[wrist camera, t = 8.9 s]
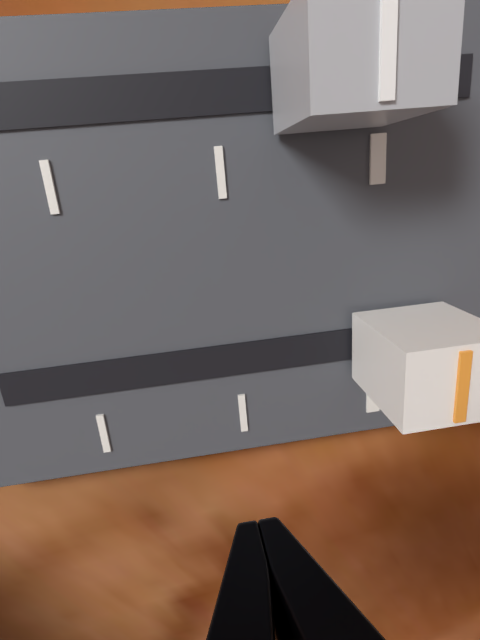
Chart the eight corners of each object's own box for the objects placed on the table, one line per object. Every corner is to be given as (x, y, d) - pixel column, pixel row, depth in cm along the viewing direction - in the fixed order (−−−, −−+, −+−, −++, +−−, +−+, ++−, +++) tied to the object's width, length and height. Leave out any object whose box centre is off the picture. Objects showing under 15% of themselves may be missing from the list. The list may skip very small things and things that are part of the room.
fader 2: (437, 365, 19) (514, 419, 14) (352, 377, 18) (404, 436, 14) (442, 301, 18) (525, 338, 13) (352, 312, 17) (408, 354, 13)
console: (463, 391, 22) (491, 412, 20) (-12, 462, 20) (-34, 494, 18) (500, 13, 17) (544, -10, 15) (-149, 46, 14) (-203, 23, 12)
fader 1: (381, 126, 15) (460, 103, 11) (273, 135, 15) (312, 114, 10) (383, 30, 14) (470, -36, 10) (268, 36, 14) (308, -30, 10)
